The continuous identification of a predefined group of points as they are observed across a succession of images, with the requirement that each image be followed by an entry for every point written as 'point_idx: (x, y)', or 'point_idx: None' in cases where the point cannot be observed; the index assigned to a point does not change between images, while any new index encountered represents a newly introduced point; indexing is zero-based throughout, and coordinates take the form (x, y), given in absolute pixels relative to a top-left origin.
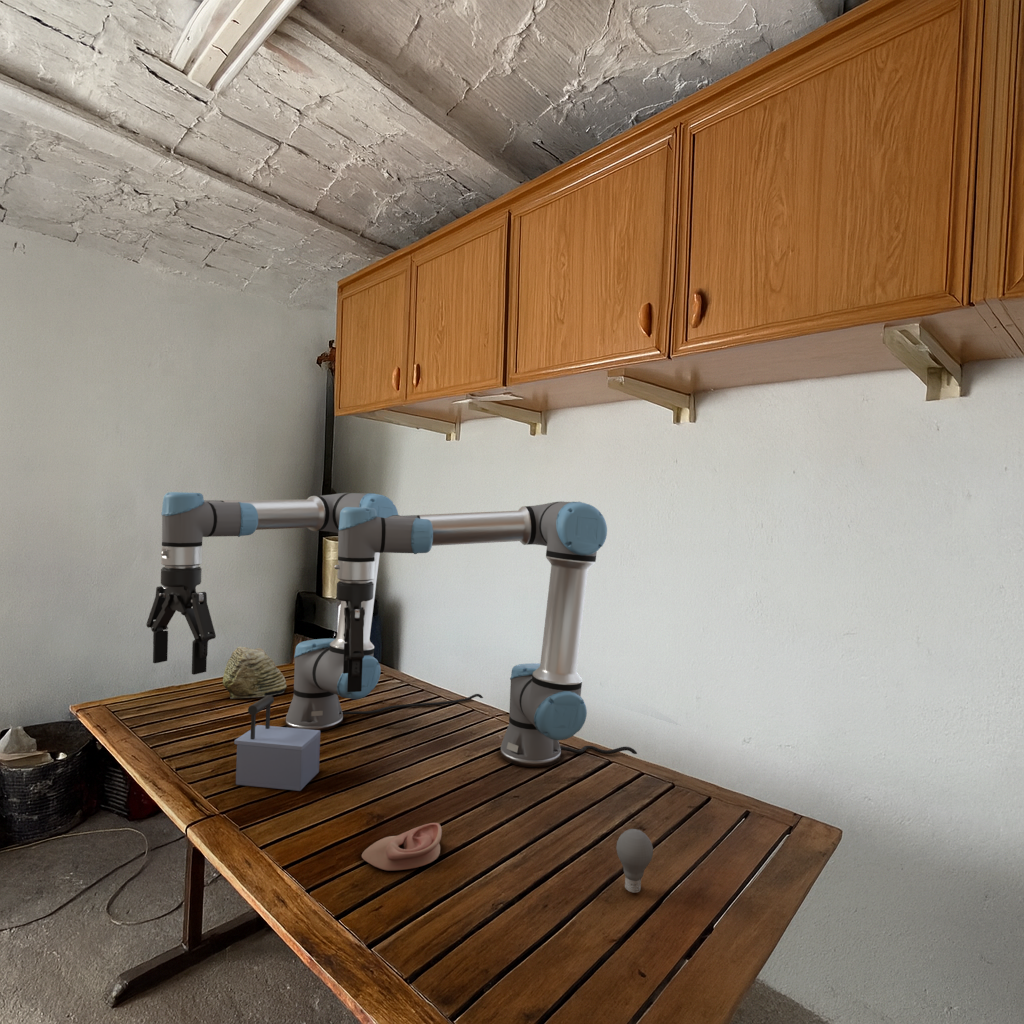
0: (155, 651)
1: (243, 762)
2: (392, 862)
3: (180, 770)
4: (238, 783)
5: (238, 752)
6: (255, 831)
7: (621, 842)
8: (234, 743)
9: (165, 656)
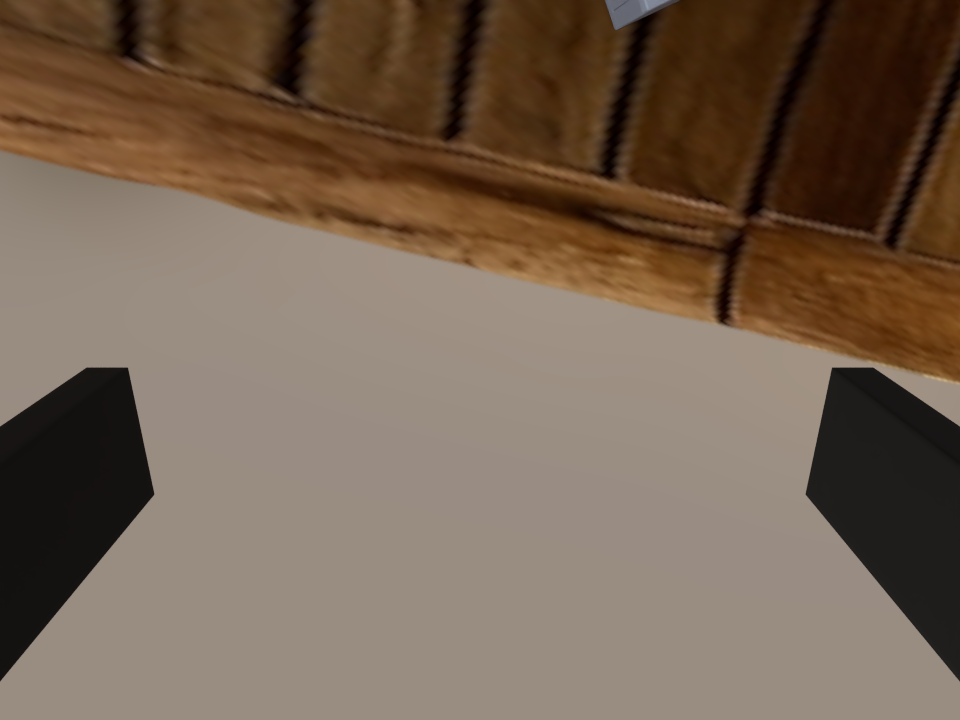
0: (79, 578)
1: (671, 2)
2: None
3: (308, 85)
4: (628, 24)
5: (656, 8)
6: (945, 226)
7: None
8: (643, 12)
9: (103, 415)
